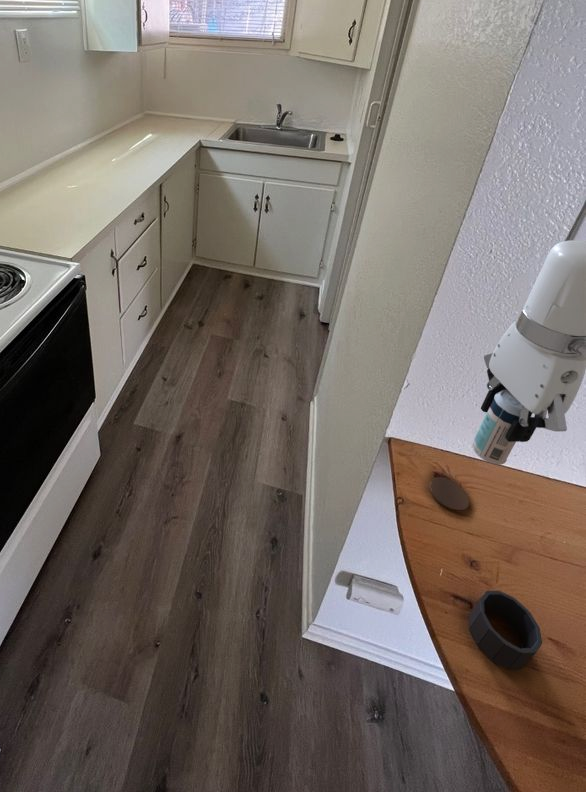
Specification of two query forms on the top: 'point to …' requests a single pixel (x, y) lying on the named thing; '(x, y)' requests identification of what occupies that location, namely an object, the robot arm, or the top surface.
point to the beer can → (497, 429)
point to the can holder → (515, 618)
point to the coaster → (449, 494)
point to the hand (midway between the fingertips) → (503, 423)
